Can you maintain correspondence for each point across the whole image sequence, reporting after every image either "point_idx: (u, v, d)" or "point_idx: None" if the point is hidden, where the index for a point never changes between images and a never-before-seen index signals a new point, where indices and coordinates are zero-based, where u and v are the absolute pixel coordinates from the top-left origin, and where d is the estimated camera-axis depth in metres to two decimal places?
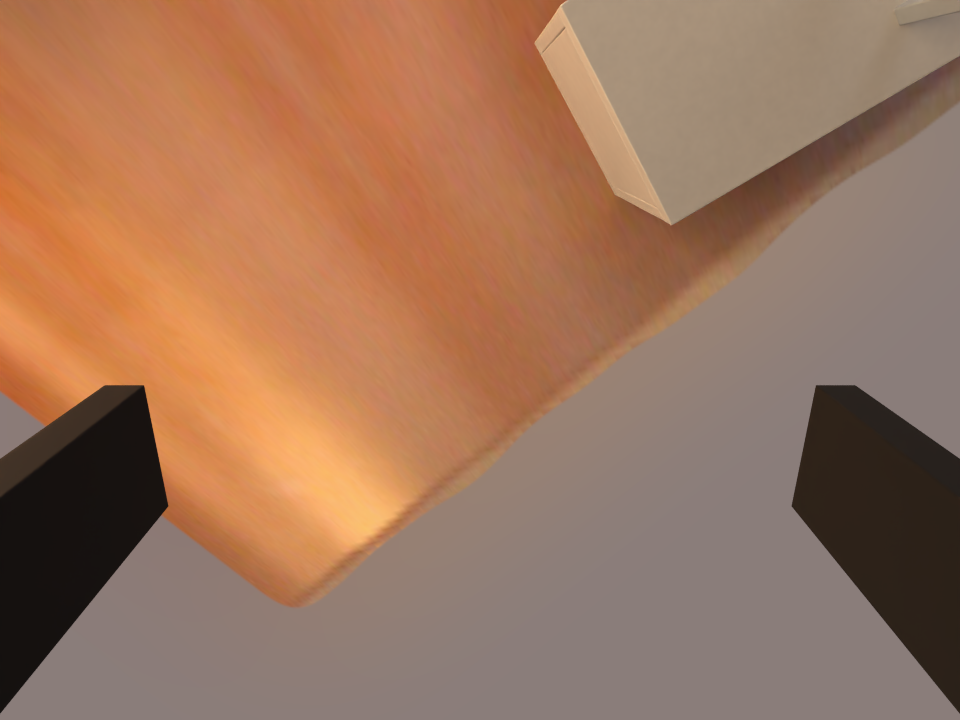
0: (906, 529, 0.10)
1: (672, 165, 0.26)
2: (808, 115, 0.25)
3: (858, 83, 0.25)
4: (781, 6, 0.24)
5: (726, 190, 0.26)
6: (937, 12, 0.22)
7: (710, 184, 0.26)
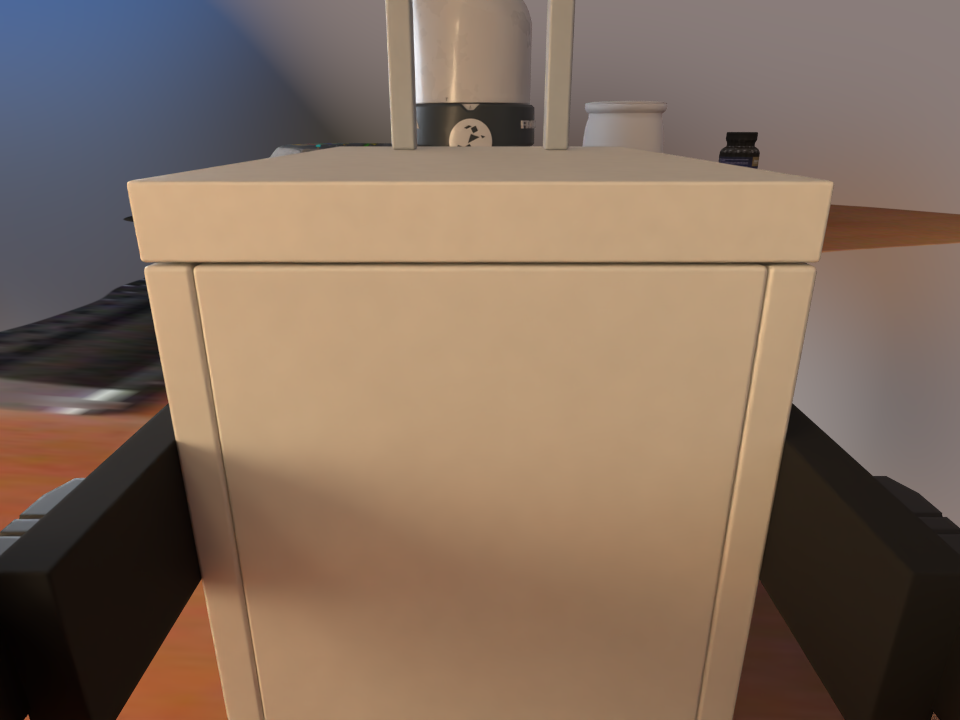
0: None
1: (653, 175, 0.10)
2: (642, 157, 0.15)
3: (621, 153, 0.17)
4: (463, 155, 0.15)
5: None
6: (566, 64, 0.18)
7: (729, 170, 0.11)
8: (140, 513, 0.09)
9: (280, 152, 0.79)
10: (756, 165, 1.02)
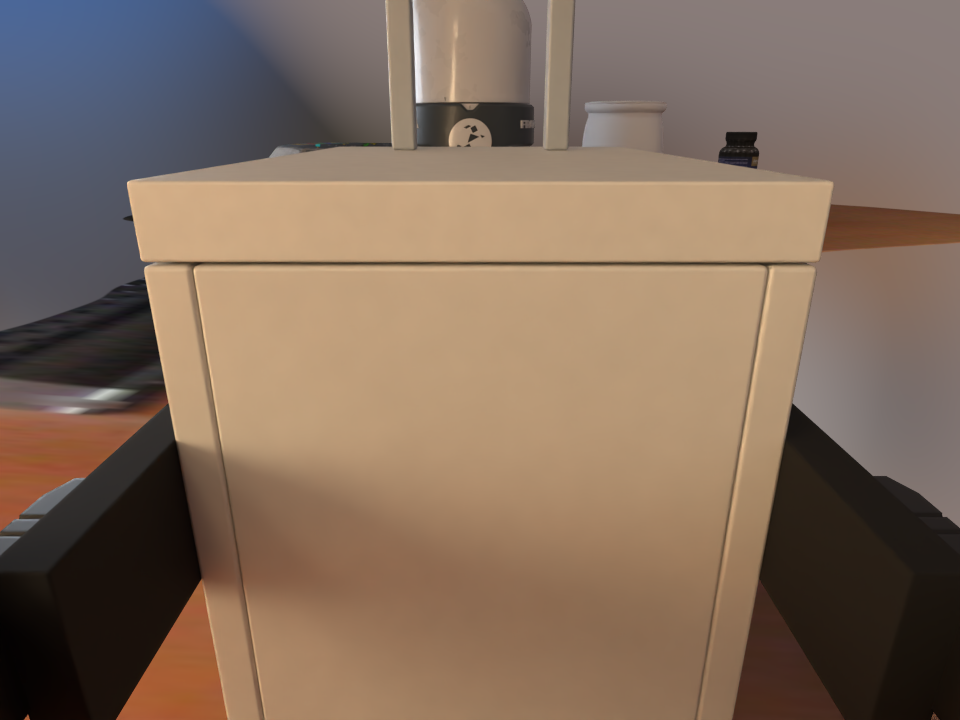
0: None
1: (654, 175, 0.10)
2: (642, 157, 0.15)
3: (620, 153, 0.17)
4: (463, 156, 0.15)
5: None
6: (566, 64, 0.18)
7: (729, 170, 0.11)
8: (140, 513, 0.09)
9: (280, 152, 0.79)
10: (755, 165, 1.02)
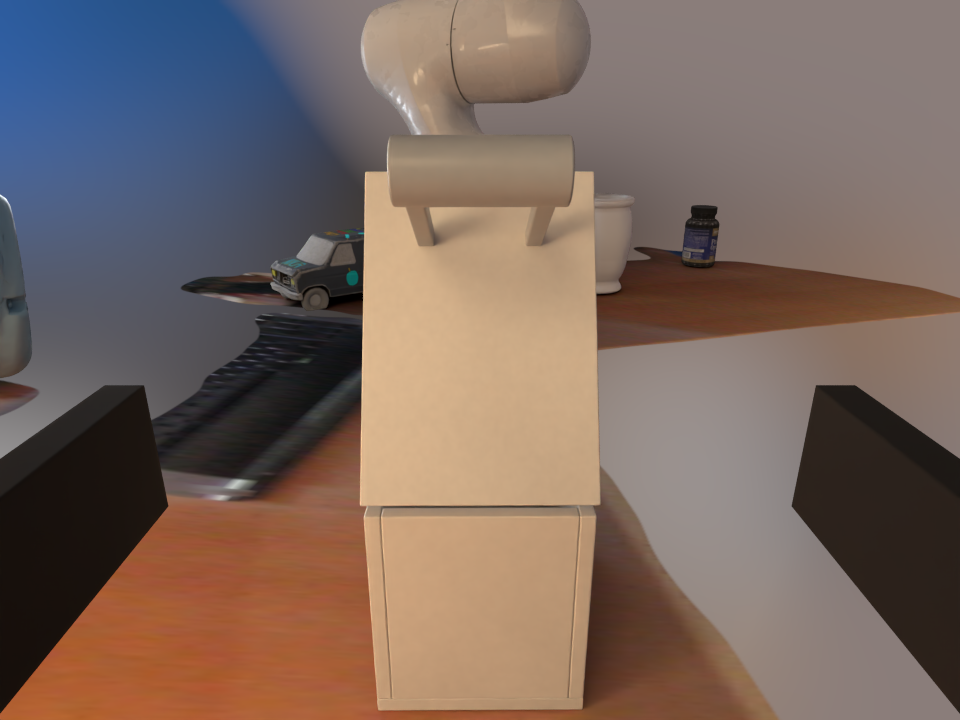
0: (906, 529, 0.10)
1: (545, 477, 0.26)
2: (571, 344, 0.26)
3: (569, 293, 0.26)
4: (469, 330, 0.26)
5: (596, 441, 0.26)
6: (543, 230, 0.24)
7: (582, 453, 0.26)
8: None
9: (316, 241, 0.96)
10: (716, 235, 1.20)
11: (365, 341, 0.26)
